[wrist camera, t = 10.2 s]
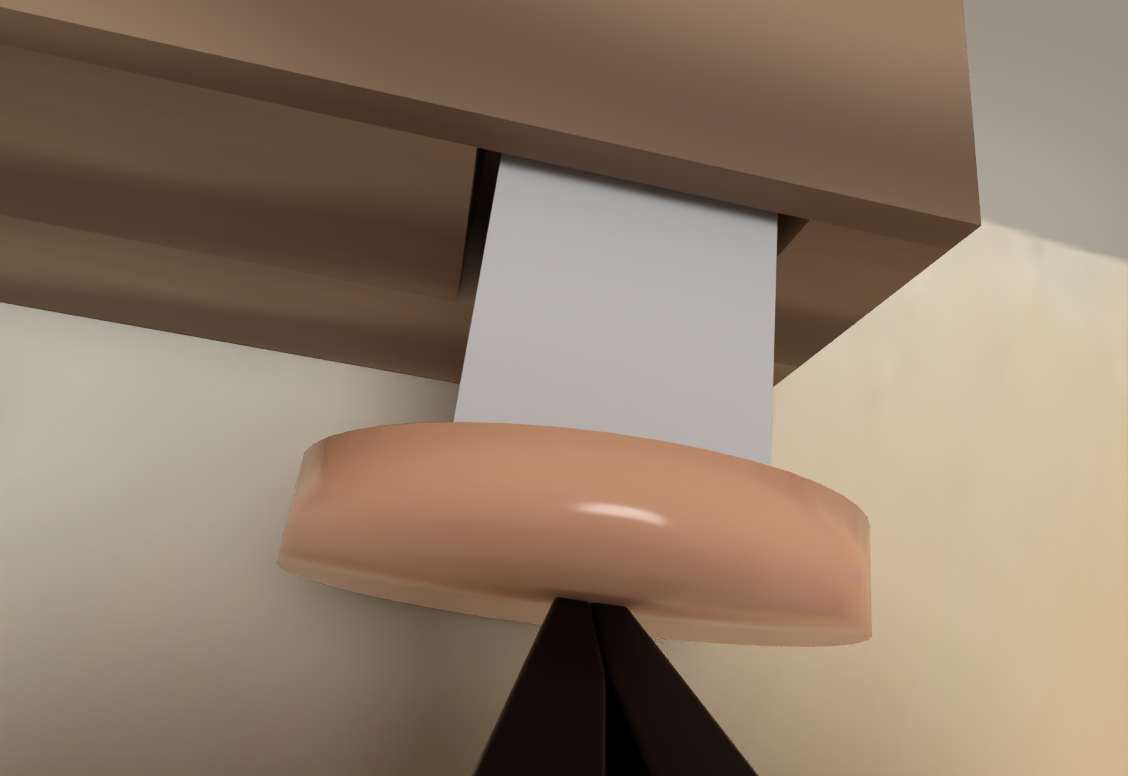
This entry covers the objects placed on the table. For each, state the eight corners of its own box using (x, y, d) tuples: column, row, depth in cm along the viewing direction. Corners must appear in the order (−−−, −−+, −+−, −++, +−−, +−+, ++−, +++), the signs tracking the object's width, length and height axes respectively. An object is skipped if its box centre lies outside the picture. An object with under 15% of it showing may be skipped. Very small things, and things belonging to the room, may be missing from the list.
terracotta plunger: (729, 651, 13) (1029, 634, 7) (314, 593, 12) (209, 513, 6) (749, 199, 17) (964, -100, 10) (420, 127, 16) (427, -251, 9)
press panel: (718, 429, 18) (981, 224, 9) (-397, 231, 15) (-1380, -302, 7) (726, 273, 19) (961, -21, 11) (-290, 65, 16) (-990, -540, 8)
